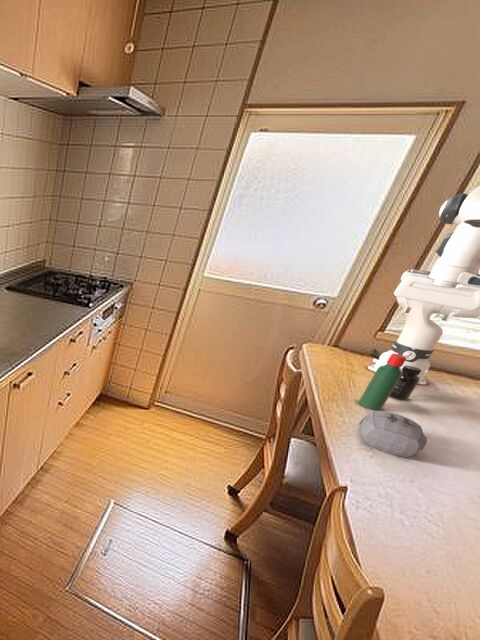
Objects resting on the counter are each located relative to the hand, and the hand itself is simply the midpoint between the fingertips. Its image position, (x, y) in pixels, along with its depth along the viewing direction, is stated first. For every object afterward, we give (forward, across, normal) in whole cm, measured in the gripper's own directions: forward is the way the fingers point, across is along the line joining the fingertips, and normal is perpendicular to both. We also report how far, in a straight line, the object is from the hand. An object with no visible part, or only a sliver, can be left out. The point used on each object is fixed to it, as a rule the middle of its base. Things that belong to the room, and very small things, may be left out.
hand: (424, 316), depth 139 cm
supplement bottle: (+33, +5, +15) cm, 37 cm away
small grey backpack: (+33, +6, -32) cm, 46 cm away
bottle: (+33, -1, -5) cm, 33 cm away
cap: (+17, -1, -5) cm, 17 cm away
